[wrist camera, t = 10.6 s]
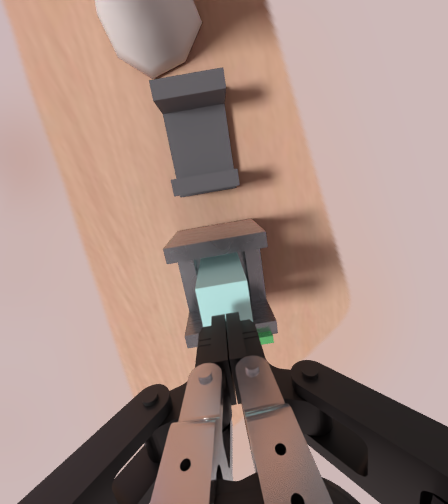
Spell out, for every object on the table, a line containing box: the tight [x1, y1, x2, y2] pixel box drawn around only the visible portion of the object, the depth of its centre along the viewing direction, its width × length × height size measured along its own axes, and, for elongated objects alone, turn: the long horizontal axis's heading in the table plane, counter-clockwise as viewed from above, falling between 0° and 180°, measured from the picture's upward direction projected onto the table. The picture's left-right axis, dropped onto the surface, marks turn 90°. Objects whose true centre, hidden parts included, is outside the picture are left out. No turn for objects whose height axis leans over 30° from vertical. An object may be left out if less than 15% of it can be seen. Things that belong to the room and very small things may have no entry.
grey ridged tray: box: [149, 68, 240, 197], centre depth 18 cm, size 8×5×4 cm, turn 10°
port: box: [163, 219, 278, 348], centre depth 19 cm, size 8×7×7 cm
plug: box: [195, 252, 253, 327], centre depth 18 cm, size 4×3×8 cm
